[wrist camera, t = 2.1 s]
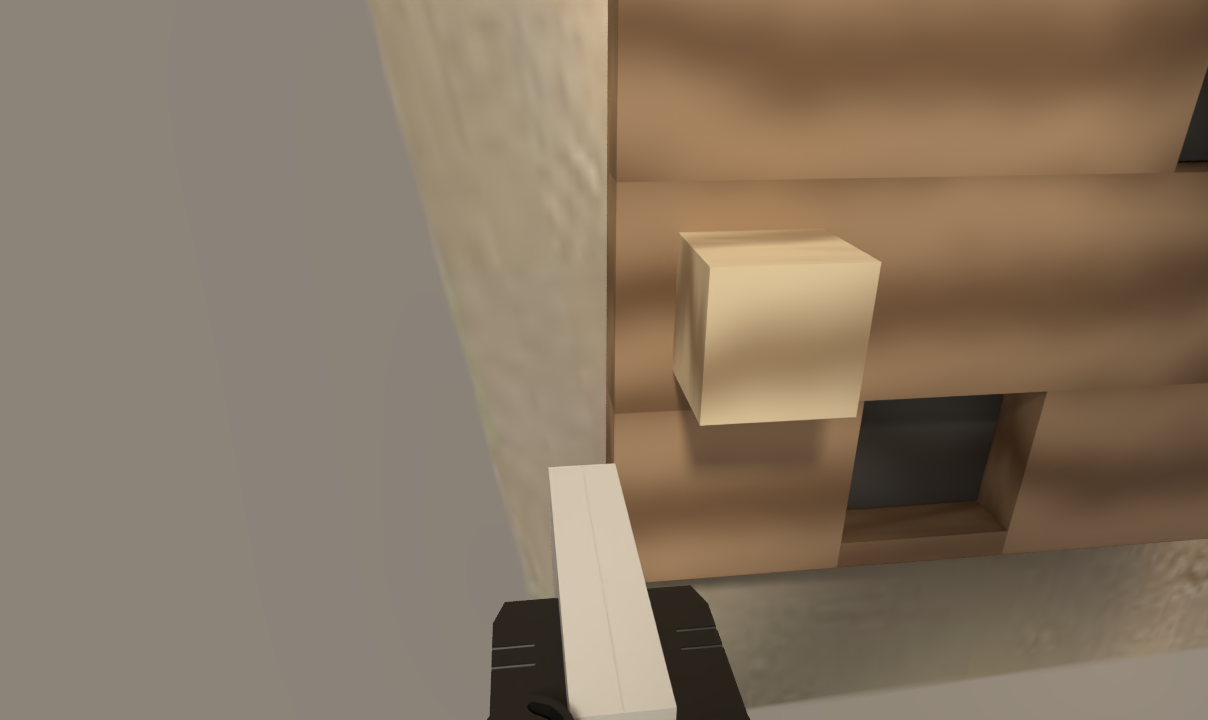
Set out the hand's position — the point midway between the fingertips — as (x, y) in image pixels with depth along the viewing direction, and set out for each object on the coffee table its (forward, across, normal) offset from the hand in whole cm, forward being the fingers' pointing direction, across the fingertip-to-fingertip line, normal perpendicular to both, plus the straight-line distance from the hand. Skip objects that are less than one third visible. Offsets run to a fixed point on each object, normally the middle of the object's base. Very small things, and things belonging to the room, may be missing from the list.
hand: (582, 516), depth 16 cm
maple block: (+14, +8, 0) cm, 16 cm away
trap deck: (+17, +22, 0) cm, 28 cm away
